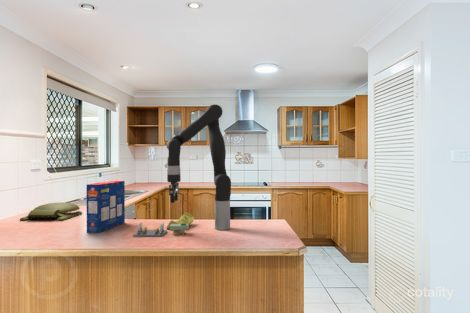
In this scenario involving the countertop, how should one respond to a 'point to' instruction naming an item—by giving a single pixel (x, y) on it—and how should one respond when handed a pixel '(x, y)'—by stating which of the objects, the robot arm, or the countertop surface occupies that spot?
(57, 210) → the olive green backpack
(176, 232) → the block
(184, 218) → the plastic component
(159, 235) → the chassis
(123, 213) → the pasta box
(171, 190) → the robot arm
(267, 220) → the countertop surface
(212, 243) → the countertop surface
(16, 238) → the countertop surface
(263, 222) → the countertop surface
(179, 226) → the board
